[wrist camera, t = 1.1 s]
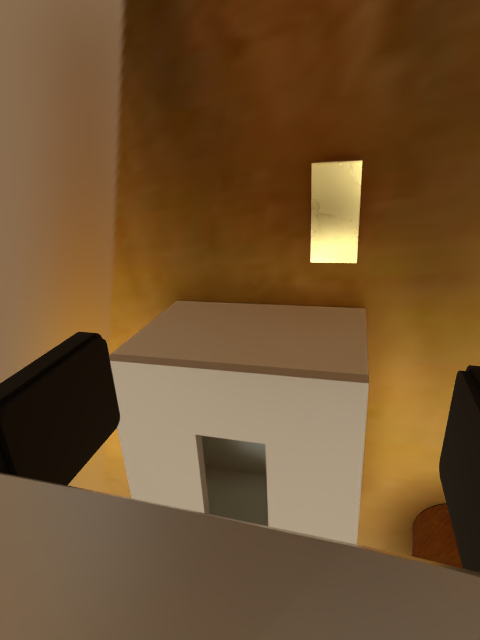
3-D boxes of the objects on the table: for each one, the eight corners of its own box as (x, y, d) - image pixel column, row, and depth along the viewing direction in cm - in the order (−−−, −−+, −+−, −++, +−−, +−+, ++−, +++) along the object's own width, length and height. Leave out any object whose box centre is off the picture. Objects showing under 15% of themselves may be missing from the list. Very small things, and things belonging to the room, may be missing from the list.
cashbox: (176, 300, 31) (103, 360, 22) (365, 308, 27) (368, 383, 18) (196, 464, 37) (144, 563, 28) (353, 489, 33) (351, 611, 24)
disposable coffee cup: (368, 533, 35) (372, 703, 24) (441, 466, 30) (486, 636, 20) (466, 592, 34) (514, 791, 24) (554, 533, 30) (662, 743, 19)
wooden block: (321, 161, 25) (311, 163, 20) (361, 159, 24) (362, 160, 19) (319, 242, 27) (310, 262, 22) (357, 242, 26) (356, 262, 21)
